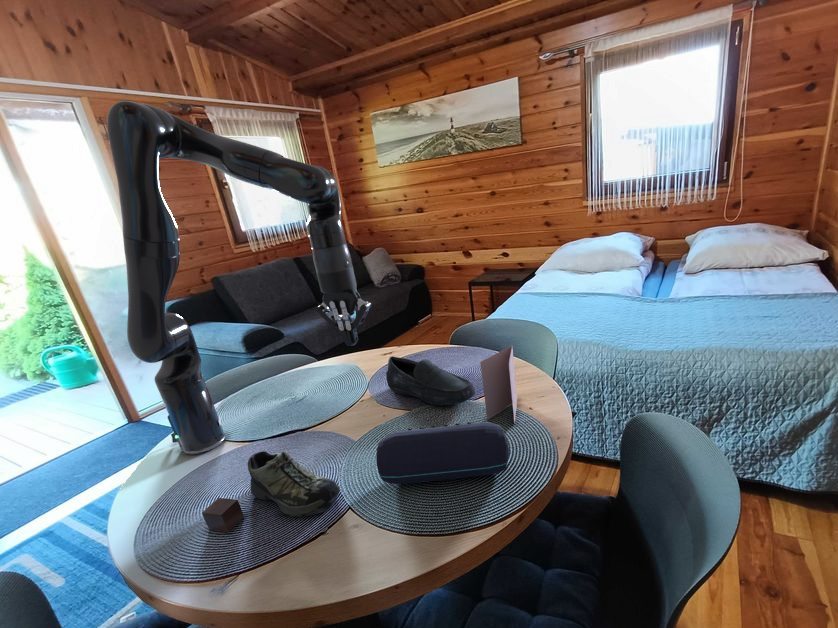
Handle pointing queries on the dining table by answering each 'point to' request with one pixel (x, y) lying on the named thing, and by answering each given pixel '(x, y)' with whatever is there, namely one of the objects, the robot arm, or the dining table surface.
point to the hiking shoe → (290, 484)
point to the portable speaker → (442, 453)
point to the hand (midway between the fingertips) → (351, 344)
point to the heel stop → (223, 514)
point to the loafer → (427, 382)
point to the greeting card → (499, 382)
